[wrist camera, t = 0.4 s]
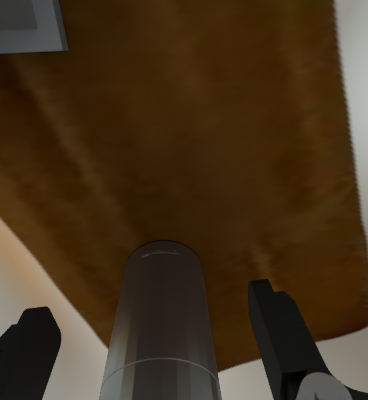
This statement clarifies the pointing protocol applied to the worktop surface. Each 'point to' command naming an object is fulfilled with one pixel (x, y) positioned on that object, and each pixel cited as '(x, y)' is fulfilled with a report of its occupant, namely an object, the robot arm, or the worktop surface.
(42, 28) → the stand
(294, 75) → the worktop surface
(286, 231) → the worktop surface
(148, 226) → the worktop surface
